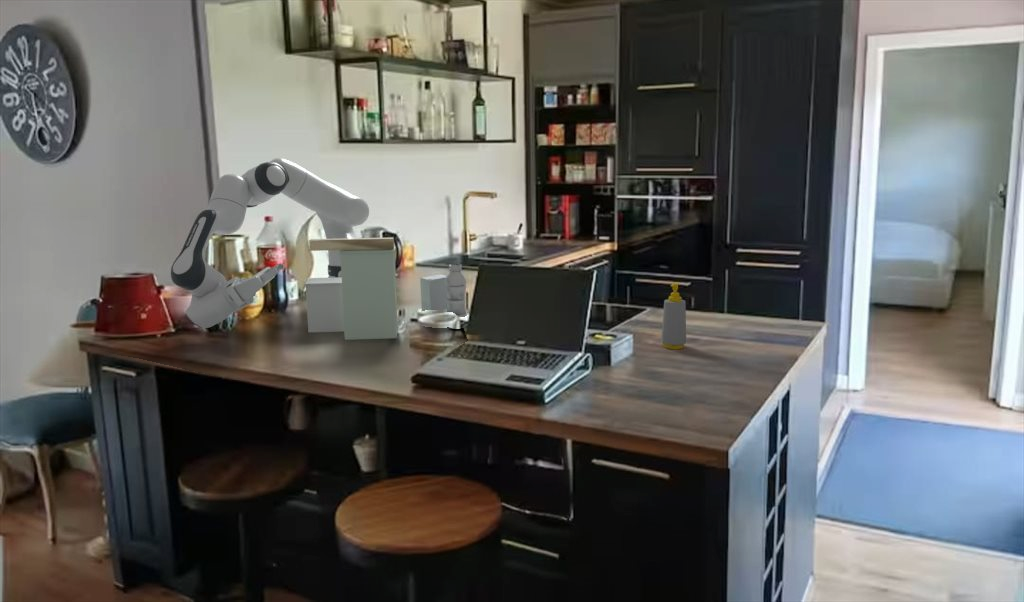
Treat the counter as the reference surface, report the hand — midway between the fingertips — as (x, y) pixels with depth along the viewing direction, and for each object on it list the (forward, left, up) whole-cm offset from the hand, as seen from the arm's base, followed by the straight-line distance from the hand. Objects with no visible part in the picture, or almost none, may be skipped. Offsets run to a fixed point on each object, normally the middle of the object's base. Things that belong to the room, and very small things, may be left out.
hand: (280, 267), depth 232 cm
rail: (0, +21, +5) cm, 21 cm away
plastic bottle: (-4, +51, -21) cm, 55 cm away
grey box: (-11, +12, -21) cm, 27 cm away
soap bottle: (+26, +110, -21) cm, 115 cm away
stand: (0, +25, -21) cm, 33 cm away
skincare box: (-15, +45, -21) cm, 52 cm away
